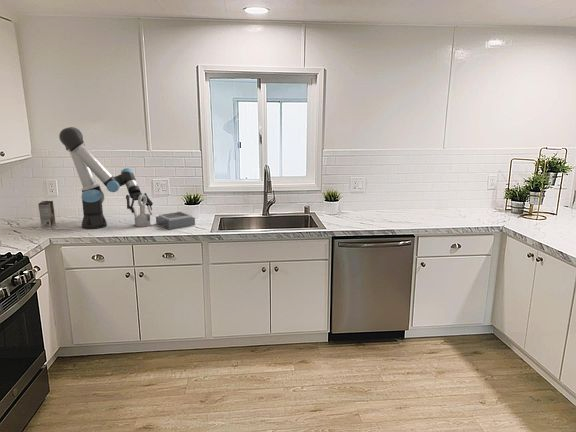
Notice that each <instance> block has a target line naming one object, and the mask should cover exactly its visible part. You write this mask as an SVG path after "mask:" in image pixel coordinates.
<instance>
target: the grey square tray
mask: <svg viewBox="0 0 576 432" xmlns="http://www.w3.org/2000/svg"><path fill="white" fill-rule="evenodd" d="M155 222H156V223H155V224H156V225H158V226H160V227H163V228H165V229H167V230H174V229H181V228H187V227H192V226H195V225H196V218H195V217H193V216H192V215H191V214H188V213H186V212H183V211H176V212H175V211H174V212H170V213H169V212H168V213H167V212H166V213H162V214H158V216H155Z"/></svg>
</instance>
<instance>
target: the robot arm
mask: <svg viewBox="0 0 576 432" xmlns="http://www.w3.org/2000/svg"><path fill="white" fill-rule="evenodd" d="M82 133H83V132H81V130H80V129H78V128H77V127H75V126H70V127H65V128H63V129H62V130H60V132H59V135H58V136H59V137H58V138H59V140H60V142H61V143H62V145H64V147H65V149H66V151H67V152H69V153H70V156H71V159H72V161H73V165H74V167H75V169H76V172H77V174H78V178H79V180H80V183H81V185H82V188H81V201H82V202H81V203H82V211H83V218H82V220H81V228H82V229H84V230H97V229H102V228H105V227H107V226H108V223H107V220H106V218H105V215H104V210H103V203H104V200H105V194H104V192H103V190H102V188H101V186H100V184H99V183H97V182H96V179H95V176H96V177H97V178H98V179H99V181H100V182H102V184H103V185H104V186H105V187H106V189H107V191H108V192H110V193H116V192H118V191H119V189H120V187H123V186H125V187H126V189H127V193H128V194H126V196H125V200H126V209H127V210H129V211H130V212H131V214H133V216H134V219H135V218H136V217H137V216H138V214H137V211H136V209H135V206H134V203H135V201H138V197H139V196H140V195H141V194H144V195H145V196H146V198H147V203H146V205H145V206H146V209H147V210H148V214H150V217H151V216H153V208H152V206H153V204H154V203H153V202H152V200H151V199H150V198H149V197H148V195H147V193H146V192H144V193H142V191H141V189H140V186H139V184H138V181H137V179H136V176H135V174H134V172H133V170H132V168H129V167H128V168H127V167H125V168H123V169H121V171H120V174H118V175H116V176H114V175H112V174H111V173H110V171H108V170H107V168H106V167H105V166H104V165H103V163H101V162H100V161H99V160H98V159H97V157H96V156H95V155H93V153H92V152H91V151H90V150H89V149H88V148H87V147H86V145H85V141H84V139H83V138H84V137H83V134H82ZM94 175H95V176H94ZM130 198H131V201H130ZM130 202H131V203H130ZM141 203H143V197H142V199H141Z"/></svg>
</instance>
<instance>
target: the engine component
mask: <svg viewBox="0 0 576 432" xmlns="http://www.w3.org/2000/svg"><path fill="white" fill-rule="evenodd" d="M142 197H143V202H142V201H141V199H142ZM146 203H147V198H146V196H145V195H144V193H142V194H141V195H140V196H139V197H138V200H137V204H138V206H139V214H137V217H136V218H135V217H134V226H135V227H142V228H143V227H148V226H151V216H150V213H146V208H145V207H146V206H147V205H146Z"/></svg>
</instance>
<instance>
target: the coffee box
mask: <svg viewBox="0 0 576 432" xmlns="http://www.w3.org/2000/svg"><path fill="white" fill-rule="evenodd" d="M37 205H38V212H39V219H40V221H39V222H40V228H42V229H45V228H47V229H48V228H49V229H50V228H53V227H54V226H55V225H56V216H55V209H54V201H53V200H42V201H40V202H39V203H38V204H37Z"/></svg>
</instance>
